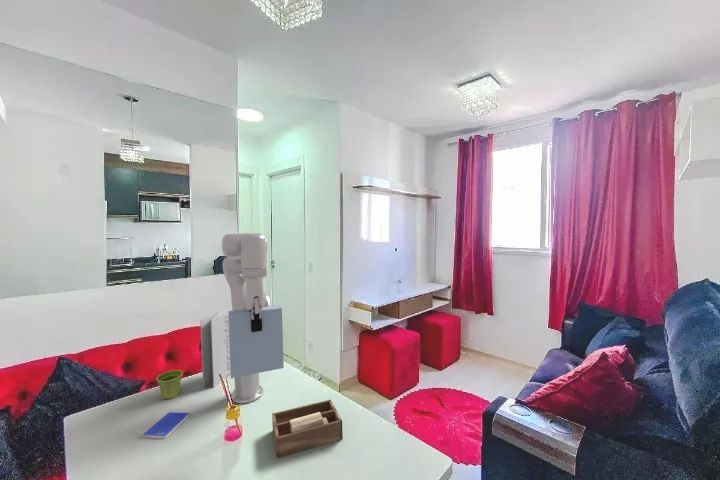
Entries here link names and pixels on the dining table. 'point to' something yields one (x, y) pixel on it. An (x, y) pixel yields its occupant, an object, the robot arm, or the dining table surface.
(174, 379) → the plant pot
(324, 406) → the brown wooden open box
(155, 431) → the hard drive
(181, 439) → the dining table surface
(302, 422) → the offcut stack
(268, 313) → the panel
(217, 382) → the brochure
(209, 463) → the dining table surface
